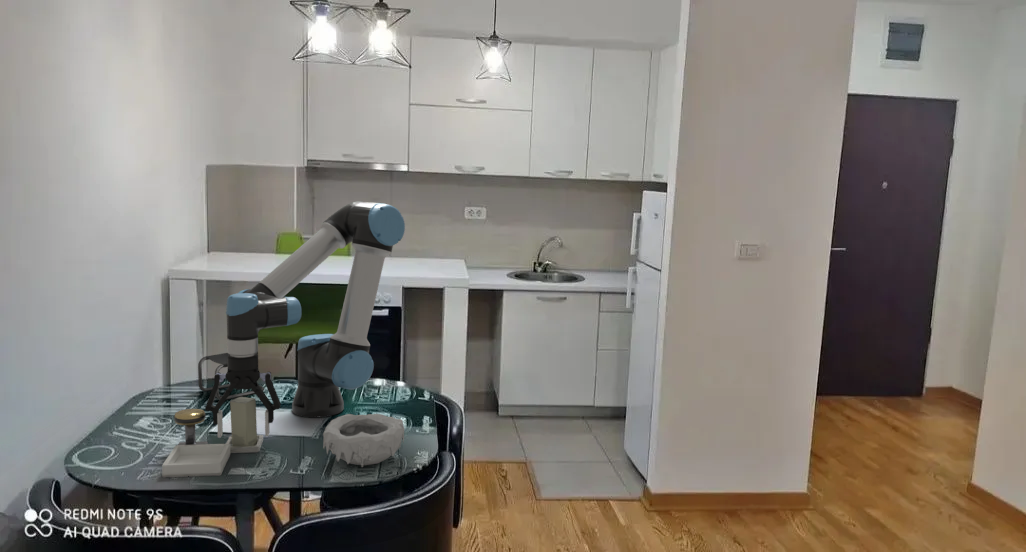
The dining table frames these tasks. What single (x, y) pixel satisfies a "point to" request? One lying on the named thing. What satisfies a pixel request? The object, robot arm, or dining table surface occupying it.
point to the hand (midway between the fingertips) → (243, 435)
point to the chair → (223, 361)
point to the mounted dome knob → (190, 424)
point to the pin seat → (245, 448)
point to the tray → (196, 460)
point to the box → (243, 421)
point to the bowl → (363, 438)
